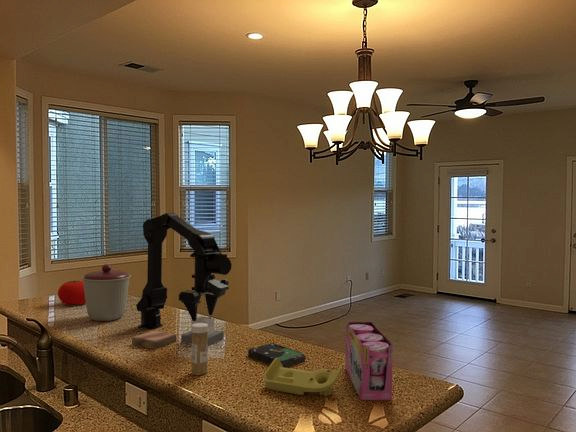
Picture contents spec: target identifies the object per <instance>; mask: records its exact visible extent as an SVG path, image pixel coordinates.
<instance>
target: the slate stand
mask: <svg viewBox="0 0 576 432" xmlns="http://www.w3.org/2000/svg"><path fill="white" fill-rule="evenodd" d="M224 332H225V331H222V330H216V329H214V333H212V334H210V335H208V336H207V344H208V347H209V346H212V345H214V344H215V343H217V342H220V341H222V340H224V335H225V334H224ZM180 335H181V336H180V342H181V343H183V342H185V343H184V344H188V343H190V344H189V345H192V334H191V330H190V331H187V332H185V333H183V334H180Z"/></svg>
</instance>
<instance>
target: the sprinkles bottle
mask: <svg viewBox="0 0 576 432" xmlns="http://www.w3.org/2000/svg"><path fill="white" fill-rule="evenodd" d="M190 327H191V328H190V331H191V332H192V344H191V371H190V372H191V374H193V375H194V376H202V375H206V374H207V373H208V371H209V369H208V358H209V357H208V356H209V354H208V352H209V350H208V347H209V346H208V344H207V333H208V324H206V323H195V324H192V326H190Z"/></svg>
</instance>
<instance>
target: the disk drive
mask: <svg viewBox="0 0 576 432" xmlns="http://www.w3.org/2000/svg"><path fill="white" fill-rule="evenodd" d="M247 356H248V357H249V358H252V359H255V360H258V361H260V362H263V363H265V364H268V365H269V366H270V365H271V363H272V362H273V360H274V359H275V358H278V359H279V360H280V362H281V364H282V366H283V367H284V368H288V367H290V366H293V365H296V364H299V363H304V362H305V361H306V355H305V354H304V353H302V352H301V351H298V350H295V349H292V348H289V347H285V346H283V345H280V344H277V343H274V342H271V343H267V344H263V345H260V346H258V347H257V348H256V347H252V348H248V350H247Z"/></svg>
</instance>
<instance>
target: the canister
mask: <svg viewBox="0 0 576 432" xmlns="http://www.w3.org/2000/svg"><path fill="white" fill-rule="evenodd" d="M131 277H132V276H131V274H129V273H127V271H123V270H112V265H110V264H108V263H107V264H106V263H105V264H103V265H102V266H101V270H96V271H95V270H94V271H91V272H87V273H85V275H82V276H80V278H81V281H83V282H84V291H85V300H86V303H85V305H86V313H87V316H88V317H89V319H91V320H93V321H96V322H107V321H108V322H110V321H115V320H118V319H121V318H122V317H124V314H125V312H126V308H127V302H128V301H127V300H128V293H129V283H130V278H131Z"/></svg>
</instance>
